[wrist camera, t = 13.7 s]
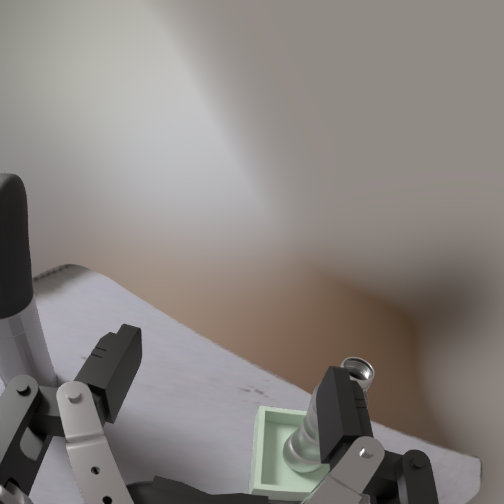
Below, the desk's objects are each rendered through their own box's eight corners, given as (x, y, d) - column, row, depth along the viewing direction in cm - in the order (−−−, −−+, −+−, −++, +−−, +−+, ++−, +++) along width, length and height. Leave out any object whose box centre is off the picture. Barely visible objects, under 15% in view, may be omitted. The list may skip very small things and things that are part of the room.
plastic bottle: (296, 434, 42) (346, 339, 33) (331, 458, 38) (395, 369, 30) (269, 458, 37) (315, 365, 29) (305, 486, 34) (372, 403, 25)
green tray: (248, 497, 32) (253, 488, 30) (255, 419, 44) (260, 405, 43) (347, 501, 32) (359, 491, 30) (339, 427, 45) (348, 414, 43)
